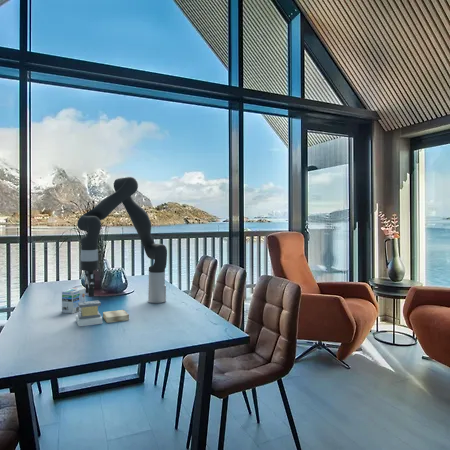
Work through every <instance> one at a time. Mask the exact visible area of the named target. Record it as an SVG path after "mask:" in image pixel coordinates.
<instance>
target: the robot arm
mask: <svg viewBox="0 0 450 450" xmlns="http://www.w3.org/2000/svg"><path fill="white" fill-rule="evenodd" d="M138 187H139V183H138V181H137V180H136V178H135V177H132V176H125V177H120V178H116V179H115V180H114V181H113V189H114V192H113V193H112V194H110V195H108V196H106V197H105V198H103V199H102V200H100V202H98V204H97V205H95V207H93V208H92V209H90V210H88V211H87V212H85V213H83V214H82V215H80V216H79V218H78V220H77V223H76V224H77V225H76V226H77V228H78V229H79V230H80V231H82V232H87V234H86V236H83V237H82V238H81V241H80V270H81V271H83V273H84V276H83V277H84V284H85V294H86V293H87V294H88V297H90V298H92V297H94V296H95V287H96V275H95V273H94V271H97V270H98V269H99V250H98V247H99V245H98V240H99V237H100V232H101V228H102V222H101V221H103V220H105V219H106V218H107V217H108V216H109V215H110V214H111V213H112V212H113V211H114V210H115V209H116V208H117V207H118V206H120V204H122V206H124V209H125V210H126V213H127V214H128V216H129V218H130V221H131V222H132V225H133V227H134V229H135V230H136V233H137V235H138V236H139V239H140V242H141V244H142V247H143V250H144V252H145V255H146V257H147V258H148V259H151V260H153V261H154V262H153V264H152V265H150V266H149V267H148V285H147V286H148V288H147V289H148V290H147V291H148V298H147V301H148V303H151V304H161V303H165V302H167V285H166V267H167V261H168V249H167V246H166V245H165V244H162V243H156V242H155V241H154V239H153V236H152V234H151V233H152V222H151V219H150V217H149V215H148V213H147V211H146V210H145V209H144V208H143V207H142V206H141V205H139V204H138V203H137V202H136V201H135V200H134V198H133V195H135V194H136V193H137V191H138Z"/></svg>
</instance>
